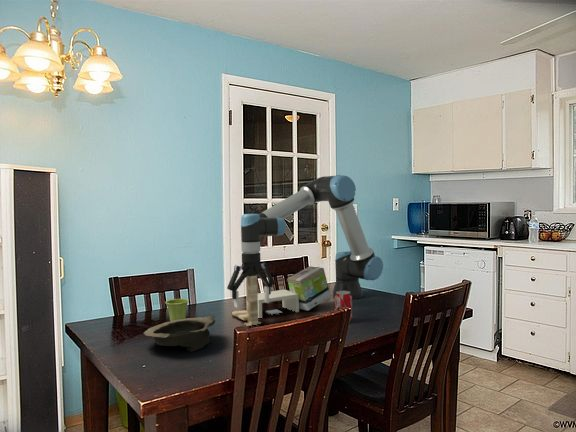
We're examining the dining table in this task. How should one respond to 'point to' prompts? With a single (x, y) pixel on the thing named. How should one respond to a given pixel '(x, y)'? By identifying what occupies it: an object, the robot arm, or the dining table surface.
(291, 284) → the tea box
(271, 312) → the steel block
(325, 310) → the dining table surface
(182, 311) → the plant pot
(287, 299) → the cream u-shaped bracket
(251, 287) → the beech scraper
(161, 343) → the stone bowl
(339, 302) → the soda can
